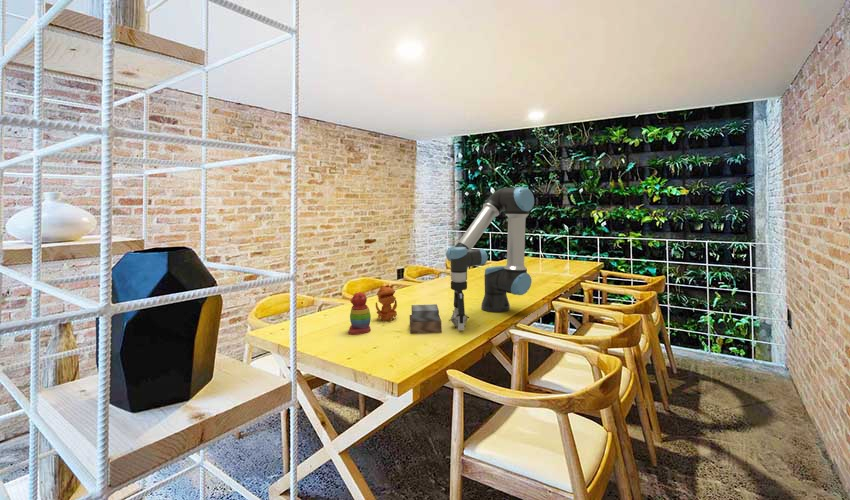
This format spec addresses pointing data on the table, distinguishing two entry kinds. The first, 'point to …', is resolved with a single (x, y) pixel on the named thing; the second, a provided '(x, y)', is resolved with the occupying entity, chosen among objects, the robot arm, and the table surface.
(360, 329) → the stacking bear
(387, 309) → the brown upright figure
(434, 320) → the dark grey tapered block
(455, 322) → the grey spiked ball
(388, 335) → the table surface
